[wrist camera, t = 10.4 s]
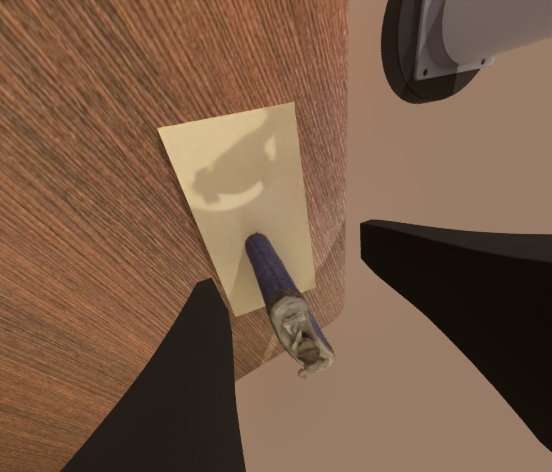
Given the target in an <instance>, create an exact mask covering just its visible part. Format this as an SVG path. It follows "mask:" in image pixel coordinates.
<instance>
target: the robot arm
mask: <svg viewBox="0 0 552 472" xmlns="http://www.w3.org/2000/svg"><path fill="white" fill-rule="evenodd" d="M551 37H552V0H422V4H421V12H420V21H419V30H418V39H417V48H416V57H415V65H414V74H413V78H414V80H415V81H419V80H424V79H429V78H434V77H439V76H444V75H450V74H455V73H460V72H465V71H470V70H475V69H480V68H485V67H489V66H490V65H491V64H492V63H493V62H494V59H495V55H496V54H500V53H503V52H506V51H509V50H513V49H515V48H519V47H522V46H525V45H529V44H532V43H535V42H538V41H541V40H544V39H548V38H551ZM423 72H424V75H423ZM360 240H361V259H362V260H363V261H364V262H365V263H366V264H367V266H369V268H370V269H371V270H372V271H373V272H374V273H375V274H376V275H377V276H379V277H380V278H381V279H382V280H383V281H385V282H386V283H387V284H388V285H389V286H391V287H392V288H393V289H394V290H396V291H397V292H398V293H399V294H400V295H402V296H403V297H404V298H405V299H407V300H408V301H409V302H410V303H411V304H413V305H414V306H415V307H416V308H417V309H419V310H420V311H421V312H422V313H423V314H424V315H426V316H427V317H428V318H429V319H430V320H431V321H432V322H433V323H434V324H435V325H436V326H437V327H438V328H439V329H440V330H441V331H442V332H443V333H444V334H445V335H446V336H447V337H448V338H449V339H450V340H451V341H452V342H453V343H454V344H455V345H456V346H457V347H458V348H459V350H460V351H461V352H462V353H463V354H464V355H465V356H466V357H467V358H468V359H469V360H470V361H471V362H472V363H473V364H474V365H475V366H476V367H477V369H478V370H479V371H480V372H481V373H482V374H483V375H484V376H485V378H486V379H487V380H488V381H489V382H490V383H491V384H492V385H493V386H494V387H495V389H496V390H497V391H498V392H499V393H500V395H502V397H503V398H504V399H505V400H506V401H507V403H508V404H509V405H510V406H511V407H512V409H513V410H514V411H515V412H516V413H517V414H518V416H519V417H520V418H521V419H522V420H523V422H524V423H525V424H526V425H527V427H528V428H529V429H530V430H531V431H532V433H533V434H534V435H535V436H536V438H537V439H538V440H539V441H540V442H541V443H542V444H543V445H544V446H545V447H546V448H548V449H549V450H550V451H551V452H552V234H551V235H550V234H507V233H489V232H473V231H463V230H453V229H444V228H436V227H428V226H420V225H414V224H407V223H400V222H393V221H384V220H368V221H366V222H363V223H360ZM60 472H246V469H245V463H244V456H243V449H242V443H241V436H240V430H239V422H238V414H237V407H236V397H235V382H234V362H233V343H232V330H231V324H230V319H229V313H228V310H227V308H226V306H225V304H224V302H223V300H222V298H221V296H220V293H219V291H218V289H217V287H216V285H215V283H214V281H213V279H212V278H209V279H206V280H203V281H201V282H198V283H197V284H196V286H195V287H194V289H193V291H192V293H191V294H190V296H189V298H188V300H187V302H186V303H185V305H184V307H183V309H182V310H181V312H180V314H179V315H178V317H177V319H176V321H175V322H174V324H173V326H172V327H171V329H170V330H169V332H168V333H167V335H166V336H165V338H164V340H163V341H162V343H161V344H160V346H159V347H158V349H157V350H156V352H155V353H154V355H153V356H152V358H151V359H150V361H149V362H148V364H147V365H146V366H145V368H144V369H143V371H142V372H141V373H140V375H139V376H138V377H137V379H136V380H135V381H134V383H133V384H132V385H131V387H130V388H129V389H128V391H127V392H126V393H125V394H124V396H123V397H122V398H121V400H120V401H119V402H118V403H117V404H116V406H115V407H114V408H113V409H112V411H111V412H110V413H109V414H108V415H107V417H106V418H105V419H104V420H103V422H102V423H101V424H100V425H99V426H98V428H97V429H96V430H95V431H94V432H93V434H92V435H91V436H90V437H89V439H88V440H87V441H86V442H85V443H84V445H83V446H82V447H81V448H80V449H79V450H78V452H77V453H76V454H75V455H74V456H73V457H72V459H71V460H70V461H69V462H68V463H67V464H66V465H65V466H64V468H63V469H62V470H61V471H60Z"/></svg>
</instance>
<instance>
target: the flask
mask: <svg viewBox="0 0 552 472" xmlns="http://www.w3.org/2000/svg"><path fill="white" fill-rule="evenodd" d="M245 248H246V254H247V256H248V258H249V260H250V263H251V264H252V267H253V270H254V273H255V276H256V279H257V282H258V285H259V288H260V291H261V294H262V296H263V300H264V303H265V306H266V310H267V313H268V316H269V319H270V322H271V324H272V326H273V329H274V331H275V334H276V336H277V338H278V339H279V341H280V343H281V344H282V345H283V347H284V349H285V350H286V351H287V352H288V353H289V355H291V356H292V358H294V359H295V360H296V361H297V362H298V363H300V364H301V365H302V366H304V369H300V370H299V372H298V376H299V377H300V378H304V379H306V374H307V372H310V373H313V372H320V371H323V370H324V369H326V368H327V367H329V366H330V365H331V364H332V363H333V362H334V361H335V355H334V351H333V350H332V347H331V346H330V344H329V343H328V342H327V340H326V338H325V337H324V335H323V333H322V332H321V330H320V328H319V327H318V325H317V323H316V321H315V320H314V318H313V316H312V315H311V313H310V311H309V308H308V305H307V302H306V300H305V298H304V297H303V296H302V294H301V292H300V291H299V289H298V288H297V287H296V285H295V284H294V282H293V280H292V278H291V276H290V275H289V273H288V271H287V270H286V268H285V266H284V264H283V262H282V260H281V259H280V258H279V256H278V255H277V253H276V251H275V250H274V248H273V246H272V244H271V243H270V241H269V240H268V238H267V236H266V235H264V234H261V233H258V232H257V231H256V233H255V234H252V235H250V236H248V238H247V239H246V240H245Z"/></svg>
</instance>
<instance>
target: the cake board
mask: <svg viewBox="0 0 552 472" xmlns="http://www.w3.org/2000/svg"><path fill="white" fill-rule="evenodd" d="M157 130H158V132H159V135H160V137H161V139H162V142H163V144H164V147H165V149H166V151H167V154H168V156H169V159H170V161H171V163H172V166H173V168H174V171H175V173H176V175H177V178H178V180H179V183H180V185H181V187H182V190H183V192H184V195H185V197H186V199H187V202H188V204H189V207H190V209H191V211H192V214H193V216H194V218H195V221H196V223H197V226H198V228H199V230H200V233H201V235H202V238H203V240H204V242H205V245H206V247H207V250H208V252H209V254H210V257H211V259H212V262H213V264H214V266H215V269H216V271H217V274H218V276H219V278H220V281H221V283H222V286H223V288H224V290H225V293H226V295H227V298H228V300H229V302H230V305H231V307H232V310H233V312H234V314H235V317H237V316H240V315H243V314H245V313H248V312H251V311H254V310H256V309H259V308H262V307H265V303H264V300H263V296H262V294H261V291H260V288H259V285H258V282H257V279H256V276H255V273H254V270H253V267H252V264H251V263H250V260H249V258H248V256H247V254H246V248H245V240H246V239H247V238H248V236H250V235H252V234H255V233H256V231H257V232H258V233H261V234H264V235H266V236H267V238H268V240H269V241H270V243H271V244H272V246H273V248H274V250H275V251H276V253H277V255H278V256H279V258H280V259H281V260H282V262H283V264H284V266H285V268H286V270H287V271H288V273H289V275H290V276H291V278H292V280H293V282H294V284H295V285H296V287H297V288H298V289H299V291H300V292H301V293H303V292H306V291H309V290H311V289H314V288H316V282H315V273H314V265H313V257H312V248H311V240H310V232H309V224H308V215H307V207H306V199H305V190H304V182H303V174H302V165H301V157H300V149H299V141H298V132H297V124H296V116H295V107H294V102H292V103H287V104H282V105H276V106H271V107H266V108H261V109H256V110H250V111H245V112H240V113H235V114H230V115H224V116H219V117H214V118H209V119H204V120H198V121H193V122H188V123H183V124H178V125H172V126H167V127H162V128H157Z"/></svg>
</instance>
